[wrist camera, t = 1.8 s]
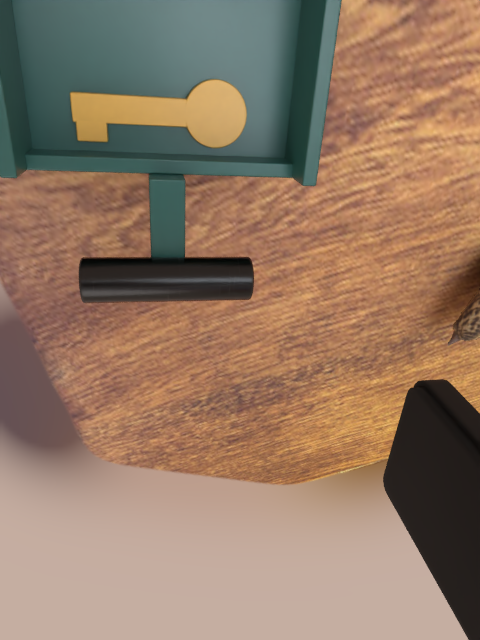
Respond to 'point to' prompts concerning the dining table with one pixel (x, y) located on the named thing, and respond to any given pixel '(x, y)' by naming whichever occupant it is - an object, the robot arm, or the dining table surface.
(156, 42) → the scoop
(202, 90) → the key
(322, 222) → the dining table surface
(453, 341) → the bird model
